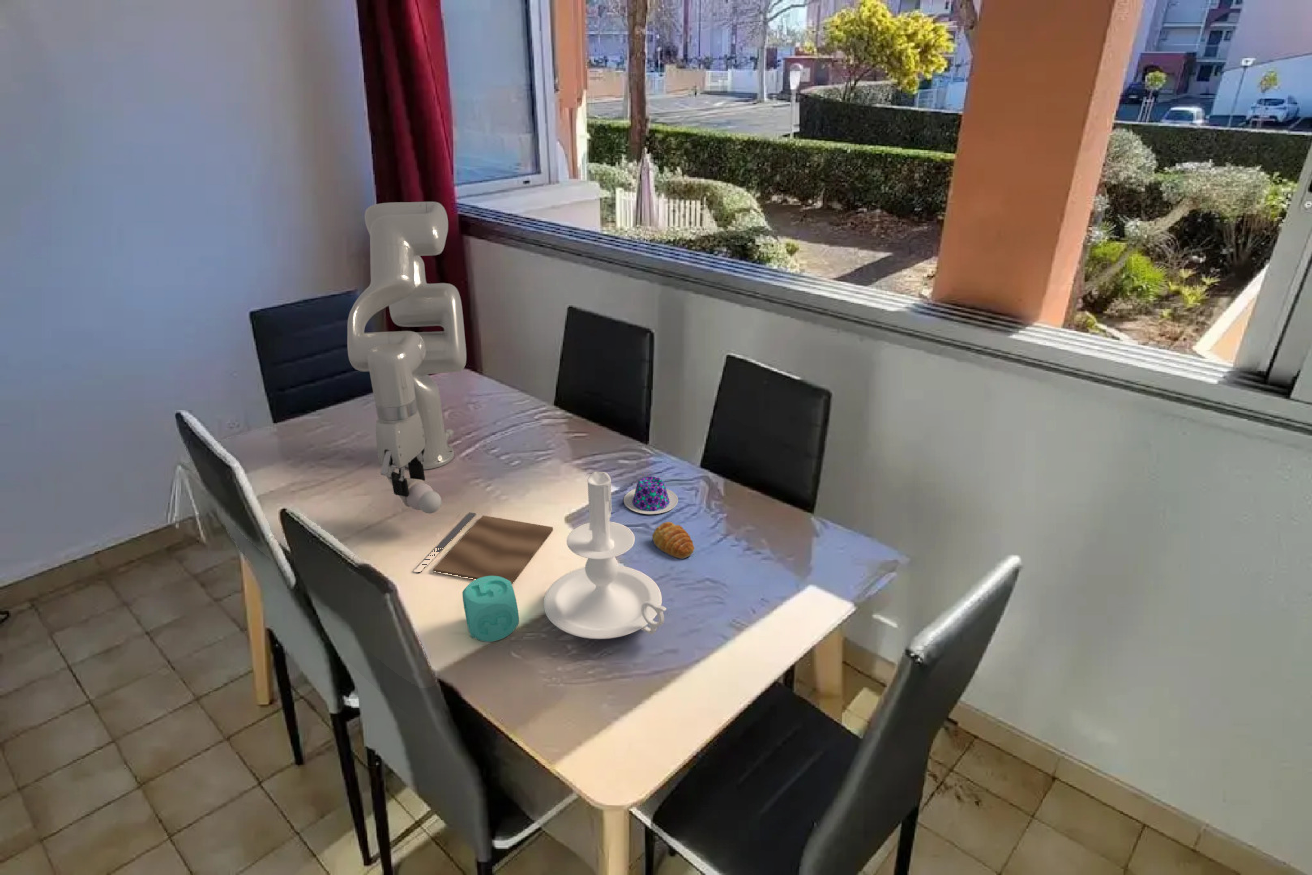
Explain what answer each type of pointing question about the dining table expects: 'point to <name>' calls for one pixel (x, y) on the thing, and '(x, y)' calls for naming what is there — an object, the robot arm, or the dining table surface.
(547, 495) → the dining table surface
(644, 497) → the pudding
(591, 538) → the candlestick
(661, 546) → the pastry
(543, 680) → the dining table surface
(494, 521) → the board
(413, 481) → the ice cream cone
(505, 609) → the decorative dice
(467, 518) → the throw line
